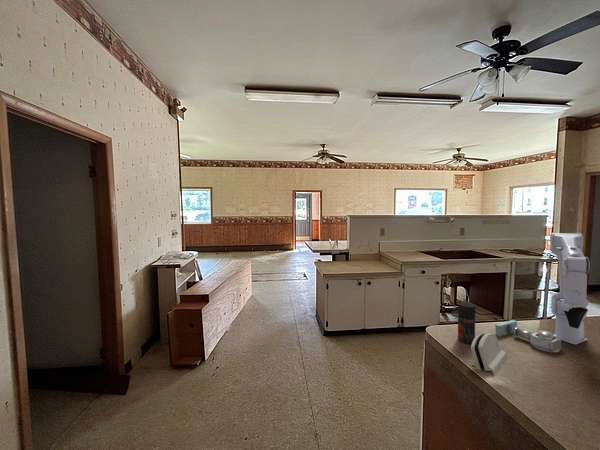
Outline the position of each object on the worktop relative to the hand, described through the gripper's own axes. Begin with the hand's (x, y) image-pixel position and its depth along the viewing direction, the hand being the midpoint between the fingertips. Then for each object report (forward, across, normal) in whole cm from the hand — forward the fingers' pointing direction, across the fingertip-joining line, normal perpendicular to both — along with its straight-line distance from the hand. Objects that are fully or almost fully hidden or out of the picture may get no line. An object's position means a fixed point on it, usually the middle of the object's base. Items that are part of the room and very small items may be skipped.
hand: (574, 327), depth 98 cm
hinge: (+10, +32, -10) cm, 35 cm away
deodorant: (+10, +25, -23) cm, 35 cm away
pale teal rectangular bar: (+10, +3, -21) cm, 23 cm away
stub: (+10, +3, -7) cm, 12 cm away
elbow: (+9, +3, -10) cm, 14 cm away
